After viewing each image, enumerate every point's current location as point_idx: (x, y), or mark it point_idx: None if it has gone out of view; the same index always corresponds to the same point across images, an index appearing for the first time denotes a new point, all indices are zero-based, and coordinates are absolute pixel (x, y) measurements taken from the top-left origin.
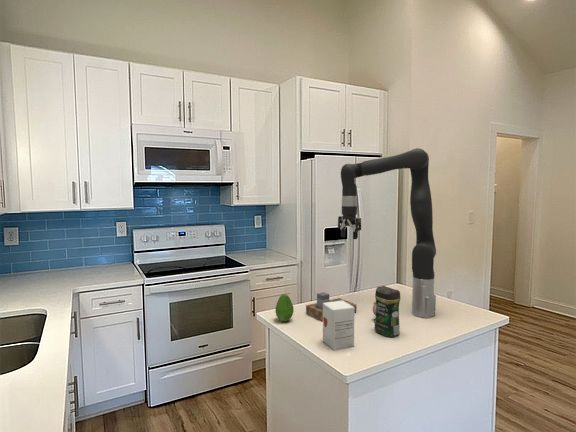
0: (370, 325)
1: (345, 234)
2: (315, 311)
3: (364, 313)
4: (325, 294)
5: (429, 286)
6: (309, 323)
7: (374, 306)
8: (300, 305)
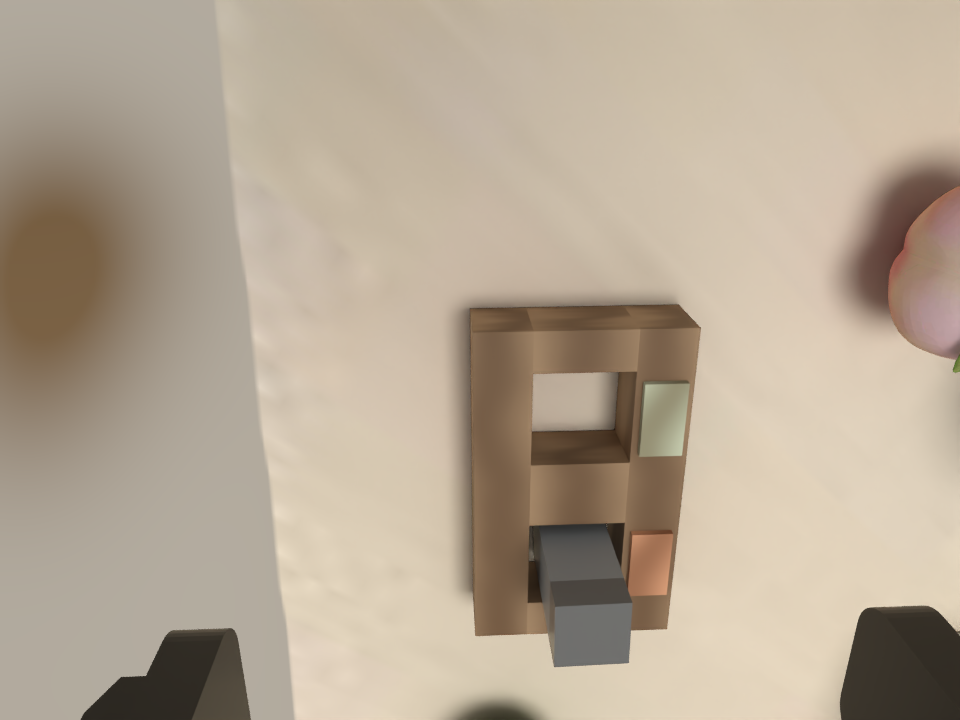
0: (905, 387)
1: (203, 697)
2: None
3: (725, 255)
4: (616, 628)
5: None
6: None
7: (954, 358)
8: (294, 538)
